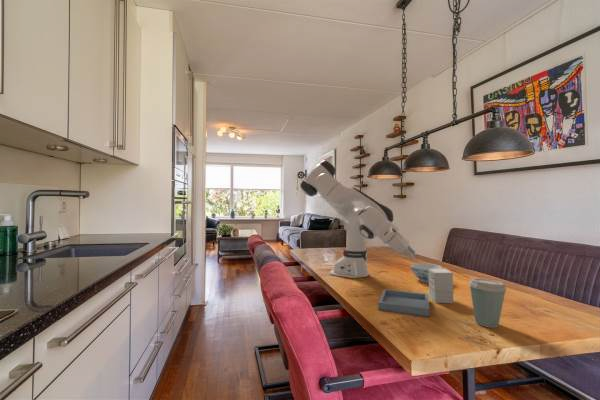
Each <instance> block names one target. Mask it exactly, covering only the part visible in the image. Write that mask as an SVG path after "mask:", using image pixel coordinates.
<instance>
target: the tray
mask: <svg viewBox="0 0 600 400" xmlns="http://www.w3.org/2000/svg"><path fill="white" fill-rule="evenodd" d="M429 299H430V298H429V293H423V292H415V291H414V292H413V291H405V290H396V289H386V288H384V289H383V290H382V293H381V295H380V298H379V300H378V311H382V312H389V313H394V314H396V313H397V314H404V315H409V316H416V317H417V316H418V317H419V316H420V317H426V318H430V315H431V313H430V310H431V309H430V301H429Z"/></svg>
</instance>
